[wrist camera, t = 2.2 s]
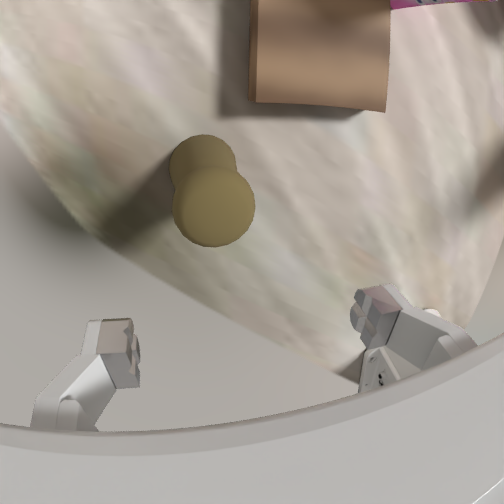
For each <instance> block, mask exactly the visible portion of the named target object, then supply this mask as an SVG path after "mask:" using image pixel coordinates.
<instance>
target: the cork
mask: <svg viewBox="0 0 504 504" xmlns="http://www.w3.org/2000/svg"><path fill="white" fill-rule="evenodd" d="M169 173H170V177H171V181H172V183H173V186H174V188H175V193H174V195H173V203H172V214H173V218H174V222H175V224H176V225H177V227H178V228H179V230H180V231H181V233H182V234H183V236H185V237H186V238H187V239H189V240H190V241H191V242H192V243H195V244H198V245H201V246H203V247H219V246H224V245H228V244H230V243H232V242H234V241H236V240H237V239H239V238H240V237H241V236H242V235H243V234H244V233H245V232H246V231H247V230H248V228H249V226H250V225H251V223H252V221H253V217H254V212H255V200H254V193H253V191H252V189H251V187H250V185H249V184H248V182H247V181H246V179H244V178H243V177H242V176H241V175H240V174H239V173H238V172H237V167H236V161H235V156H234V154H233V152H232V150H231V148H230V147H229V146H228V145H227V144H226V143H225V142H224V141H223V140H221V139H219V138H217V137H215V136H212V135H203V134H202V135H197V136H192V137H190V138H188V139H186V140H185V141H183V142H181V143H180V144H179V146H178V147H177V148H176V149H175V150H174V152H173V154H172V156H171V158H170V164H169Z"/></svg>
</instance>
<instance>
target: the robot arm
mask: <svg viewBox="0 0 504 504" xmlns="http://www.w3.org/2000/svg"><path fill="white" fill-rule="evenodd" d="M354 299H355V301H356V303H355V304H354V305H353V306H352V307H351V311H350V320H351V323H352V326H353V328H354V329H355V330H356V331H358V332H360V333H361V337H360V339H361V340H362V342H363V343H364V345H365V346H366V348H367V350H366V351H365V353H364V358H363V365H362V371H361V377H360V383H359V389H358V394H355V395H352V396H349V397H345V398H341V399H338V400H334V401H331V402H327V403H323V404H320V405H316V406H311V407H308V408H303V409H299V410H294V411H290V412H285V413H280V414H276V415H271V416H265V417H260V418H255V419H249V420H243V421H236V422H230V423H223V424H215V425H208V426H199V427H189V428H179V429H167V430H150V431H123V432H122V431H120V432H119V431H118V432H101V431H98V429H97V428H96V427H95V425H94V424H95V423H96V421H97V420H98V418H99V416H100V415H101V414H102V412H103V410H104V409H105V407H106V406H107V404H108V403H109V401H110V400H111V398H112V397H113V395H114V393H115V392H116V389H122V388H123V389H124V388H137V387H140V371H139V368H138V364H139V363H140V348H139V342H138V338H137V336H136V335H135V334H134V325H133V322H132V319H131V318H121V319H103V320H90V321H89V322H88V324H87V328H86V332H85V336H84V341H83V345H82V350H81V355H76V356H75V357H74V359H73V360H72V361H70V363H69V364H68V365H67V366H66V367H65V368H64V369H63V370H62V371H61V372H60V373H59V374H58V375H57V376H56V377H55V378H54V379H53V380H52V381H51V382H50V383H49V384H48V385H47V386H46V387H45V388H44V390H43V391H42V392H41V393H40V394H39V395H38V396H37V397H36V400H35V405H34V410H33V415H32V420H31V425H30V427H24V426H16V425H9V424H2V423H0V504H504V333H502V334H500V335H499V336H497V337H495V338H493V339H491V340H489V341H487V342H485V343H483V344H481V345H479V346H477V344H476V343H475V342H474V341H473V340H472V338H471V337H470V336H469V335H468V334H467V333H466V331H465V330H464V329H463V328H462V327H459V326H457V325H455V324H453V323H451V322H449V321H447V320H444V319H442V318H441V316H440V314H439V312H438V311H436V310H434V309H425V310H423V309H420V308H418V307H413V306H412V305H411V304H410V303H409V302H408V300H407V299H406V298H405V297H404V296H403V295H402V294H401V293H400V291H399V290H398V289H397V288H396V287H395V286H394V285H393V284H391V283H388V284H383V285H379V286H373V287H368V288H363V289H358V290H357V291H356V293H355V296H354Z"/></svg>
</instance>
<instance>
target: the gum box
mask: <svg viewBox="0 0 504 504" xmlns="http://www.w3.org/2000/svg"><path fill="white" fill-rule="evenodd" d="M492 1H497V0H390V6H391V7H392V8H393V9H400V8H406V7H414V6H421V5H431V4H441V3H455V2H492Z"/></svg>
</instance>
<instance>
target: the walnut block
mask: <svg viewBox="0 0 504 504" xmlns="http://www.w3.org/2000/svg"><path fill="white" fill-rule="evenodd" d="M389 54H390V0H250V40H249V84H248V100H249V101H253V102H258V103H291V104H309V105H323V106H334V107H344V108H353V109H362V110H369V111H377V112H384V113H385V110H386V99H387V87H388V73H389Z"/></svg>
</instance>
